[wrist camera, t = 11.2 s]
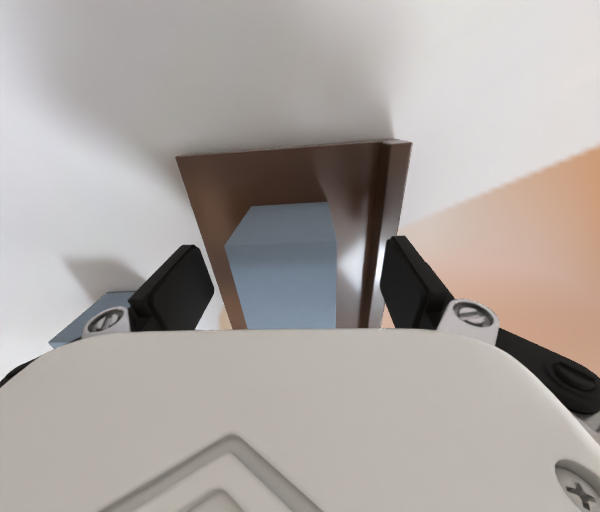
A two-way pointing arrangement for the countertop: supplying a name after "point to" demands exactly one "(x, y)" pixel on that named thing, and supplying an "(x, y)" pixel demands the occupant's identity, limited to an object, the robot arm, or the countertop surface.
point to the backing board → (307, 189)
